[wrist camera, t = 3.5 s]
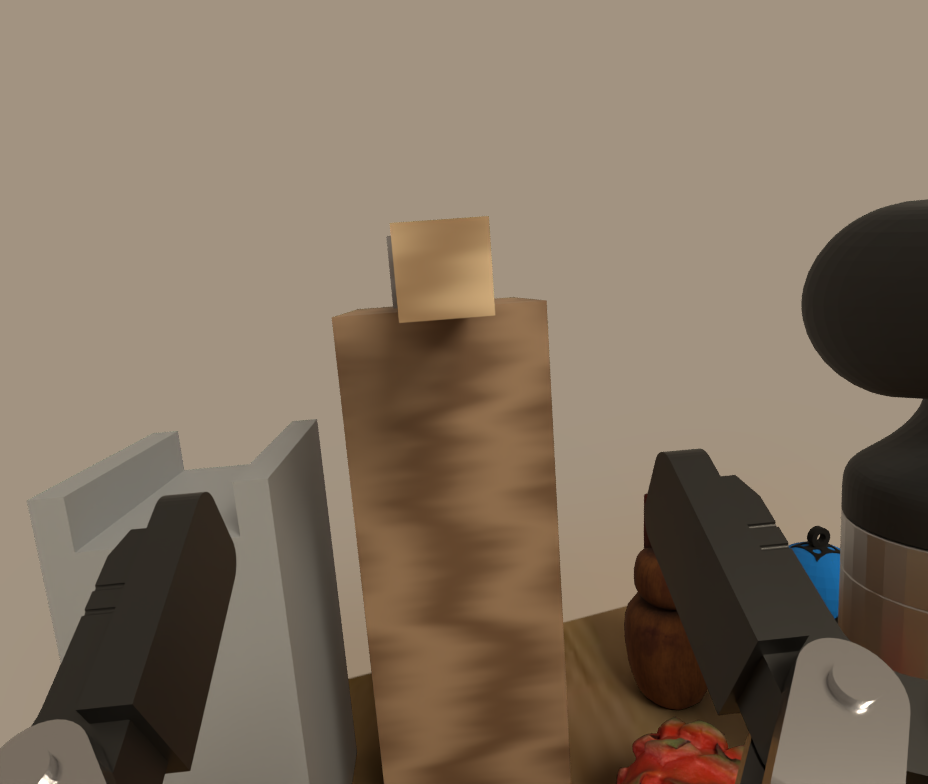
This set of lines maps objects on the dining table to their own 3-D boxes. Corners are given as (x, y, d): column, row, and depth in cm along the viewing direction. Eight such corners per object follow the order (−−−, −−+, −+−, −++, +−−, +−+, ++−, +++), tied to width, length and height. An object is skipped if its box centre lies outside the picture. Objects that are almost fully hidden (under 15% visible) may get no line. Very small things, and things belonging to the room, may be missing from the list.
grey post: (356, 751, 42) (316, 419, 38) (329, 933, 30) (267, 478, 26) (209, 768, 41) (152, 433, 37) (123, 960, 30) (26, 500, 26)
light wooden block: (475, 300, 39) (470, 235, 38) (527, 312, 19) (519, 179, 18) (396, 306, 38) (390, 241, 38) (366, 325, 19) (352, 191, 18)
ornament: (811, 684, 45) (815, 558, 43) (736, 624, 53) (736, 516, 52) (907, 661, 47) (914, 539, 45) (819, 606, 55) (822, 501, 53)
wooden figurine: (615, 669, 48) (609, 490, 46) (685, 659, 49) (682, 481, 46) (650, 729, 42) (645, 523, 39) (730, 717, 42) (730, 513, 40)
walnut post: (538, 710, 44) (513, 297, 39) (574, 846, 34) (546, 300, 28) (401, 726, 44) (357, 309, 39) (393, 869, 33) (331, 317, 28)
